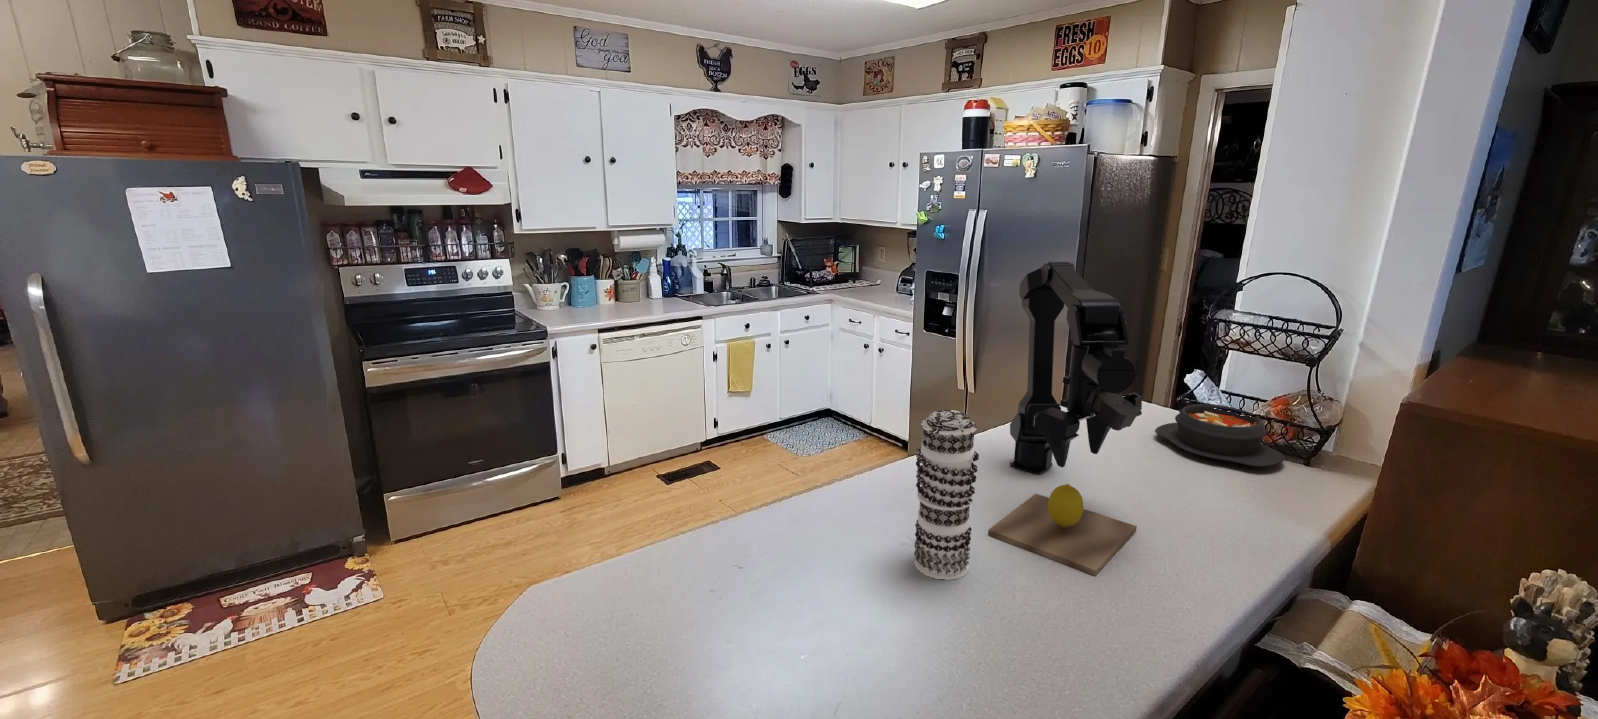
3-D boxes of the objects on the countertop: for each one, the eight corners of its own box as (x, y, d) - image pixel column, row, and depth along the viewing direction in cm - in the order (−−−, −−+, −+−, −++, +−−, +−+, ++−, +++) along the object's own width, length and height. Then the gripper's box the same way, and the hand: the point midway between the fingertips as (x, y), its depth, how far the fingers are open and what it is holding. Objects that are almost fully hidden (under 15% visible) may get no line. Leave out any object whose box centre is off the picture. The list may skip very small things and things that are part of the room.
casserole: (1300, 461, 144) (1308, 424, 141) (1253, 483, 134) (1261, 443, 132) (1183, 425, 164) (1188, 391, 162) (1135, 441, 155) (1140, 406, 153)
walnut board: (987, 534, 117) (988, 529, 116) (1035, 498, 129) (1035, 493, 129) (1095, 576, 105) (1096, 570, 104) (1136, 531, 117) (1136, 525, 117)
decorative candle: (933, 542, 114) (940, 400, 108) (982, 564, 108) (993, 414, 101) (899, 564, 108) (904, 415, 101) (949, 588, 102) (958, 431, 95)
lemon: (1075, 520, 119) (1080, 477, 117) (1084, 536, 114) (1089, 492, 112) (1042, 519, 120) (1046, 476, 117) (1050, 535, 114) (1054, 491, 112)
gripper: (1098, 397, 102) (1086, 492, 106) (1167, 375, 112) (1153, 462, 116) (1035, 378, 111) (1027, 467, 115) (1104, 359, 121) (1094, 441, 125)
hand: (1077, 459), depth 118 cm, fingers open, 9 cm apart
